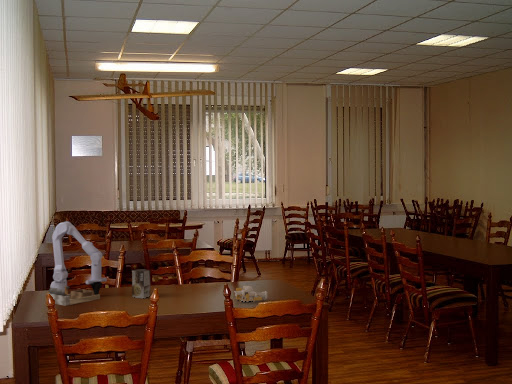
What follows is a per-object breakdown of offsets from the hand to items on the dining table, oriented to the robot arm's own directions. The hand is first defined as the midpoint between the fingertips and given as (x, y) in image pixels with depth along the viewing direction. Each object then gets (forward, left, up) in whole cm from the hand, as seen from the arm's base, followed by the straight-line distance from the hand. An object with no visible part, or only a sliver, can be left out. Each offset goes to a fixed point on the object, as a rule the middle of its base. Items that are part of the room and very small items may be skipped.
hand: (96, 294), depth 402 cm
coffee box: (+21, +16, -2) cm, 26 cm away
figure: (+79, +45, -2) cm, 91 cm away
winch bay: (0, -17, -1) cm, 17 cm away
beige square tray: (0, -11, -1) cm, 11 cm away
